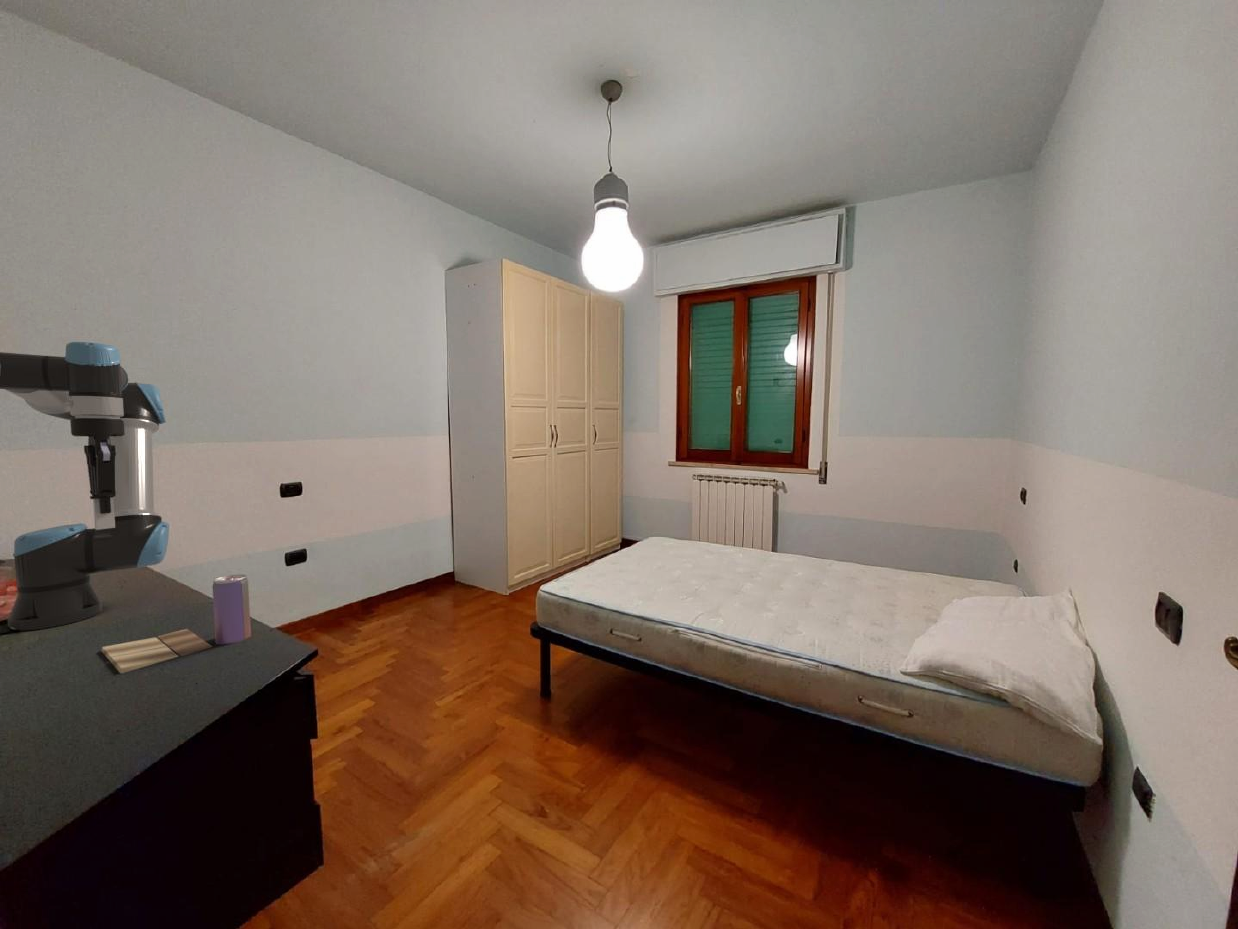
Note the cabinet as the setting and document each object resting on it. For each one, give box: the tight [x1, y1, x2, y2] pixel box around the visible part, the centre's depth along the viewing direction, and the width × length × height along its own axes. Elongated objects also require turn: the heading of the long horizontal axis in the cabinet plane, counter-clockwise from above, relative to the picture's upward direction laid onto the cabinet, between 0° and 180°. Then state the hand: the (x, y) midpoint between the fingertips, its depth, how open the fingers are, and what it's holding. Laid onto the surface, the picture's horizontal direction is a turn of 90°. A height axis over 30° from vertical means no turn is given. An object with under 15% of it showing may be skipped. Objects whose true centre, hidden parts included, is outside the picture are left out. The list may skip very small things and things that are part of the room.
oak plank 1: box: [101, 636, 167, 663], centre depth 97 cm, size 8×8×2 cm
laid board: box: [156, 628, 213, 657], centre depth 100 cm, size 17×5×2 cm, turn 57°
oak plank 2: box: [110, 646, 180, 674], centre depth 92 cm, size 8×8×2 cm
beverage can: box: [212, 573, 252, 645], centre depth 101 cm, size 6×6×15 cm
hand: (105, 528), depth 99 cm, fingers closed
